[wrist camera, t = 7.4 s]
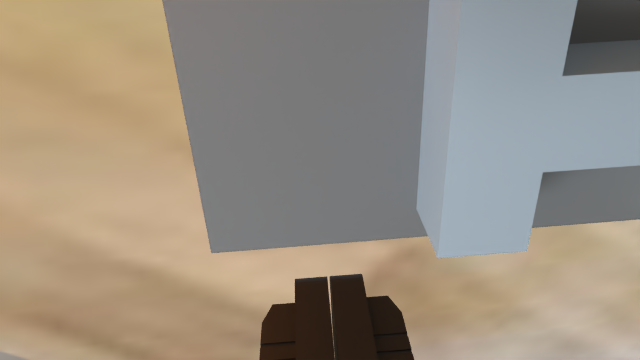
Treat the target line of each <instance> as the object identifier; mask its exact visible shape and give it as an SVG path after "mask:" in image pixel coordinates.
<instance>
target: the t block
mask: <svg viewBox="0 0 640 360" xmlns="http://www.w3.org/2000/svg"><path fill="white" fill-rule="evenodd" d="M577 1H578V0H429V13H428V30H427V46H426V62H425V78H424V94H423V111H422V127H421V143H420V159H419V175H418V192H417V208H416V209H417V212H418V214H419V216H420V219H421V221H422V223H423V225H424V228H425V230H426V232H427V235H428V237H429V239H430V242H431V244H432V246H433V249H434V251H435V253H436V255H437V258H449V257H462V256H475V255H488V254H500V253H513V252H526V251H527V249H528V244H529V239H530V234H531V229H532V224H533V219H534V214H535V209H536V204H537V199H538V194H539V189H540V184H541V179H542V174H543V172H555V171H568V170H582V169H596V168H610V167H624V166H638V165H640V40H628V41H611V42H595V43H579V44H569V40H570V35H571V31H572V26H573V21H574V16H575V11H576V6H577Z"/></svg>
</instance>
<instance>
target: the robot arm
mask: <svg viewBox="0 0 640 360" xmlns="http://www.w3.org/2000/svg"><path fill="white" fill-rule="evenodd" d="M330 292H331V309H332V324H331V313H330V303H329V292H328V281H327V277H316V278H303V279H295V303H287V304H274V305H272V307H271V308H270V310H269V312H268V314H267V315H266V317H265V319H264V320H263V322H262V330H261V348H260V360H414V357H413V354H412V352H411V346H410V342H409V338H408V336H407V331H406V327H405V323H404V319H403V316H402V312H401V311H400V310H399V309H398V307H397V306H396V305H395V304H394V303H393V301H392V300H391V299H390V298H389V297H388V296H378V297H366V292H365V287H364V281H363V277H362V274H354V275H341V276H330ZM332 326H333V335H332ZM333 340H334V345H333ZM334 352H335V356H334Z"/></svg>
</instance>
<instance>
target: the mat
mask: <svg viewBox="0 0 640 360" xmlns="http://www.w3.org/2000/svg"><path fill="white" fill-rule="evenodd" d="M162 1H163V6H164V11H165V16H166V21H167V26H168V31H169V37H170V42H171V47H172V52H173V57H174V62H175V68H176V73H177V78H178V83H179V88H180V93H181V99H182V104H183V109H184V114H185V119H186V124H187V130H188V135H189V140H190V145H191V150H192V155H193V161H194V166H195V171H196V176H197V181H198V186H199V192H200V197H201V202H202V207H203V212H204V217H205V222H206V228H207V233H208V238H209V243H210V248H211V253H220V252H232V251H245V250H258V249H270V248H283V247H296V246H308V245H321V244H333V243H346V242H359V241H371V240H384V239H397V238H409V237H422V236H428V235H427V232H426V230H425V228H424V225H423V223H422V221H421V219H420V216H419V214H418V212H417V209H416V208H417V192H418V175H419V159H420V143H421V127H422V111H423V94H424V78H425V62H426V46H427V30H428V13H429V0H162ZM628 40H640V0H578V1H577V6H576V11H575V16H574V21H573V26H572V31H571V35H570V40H569V44H579V43H595V42H611V41H628ZM636 219H640V165H638V166H624V167H610V168H596V169H582V170H568V171H555V172H543V174H542V179H541V184H540V189H539V194H538V199H537V204H536V209H535V214H534V219H533V224H532V228H535V227H548V226H561V225H573V224H586V223H599V222H611V221H624V220H636Z"/></svg>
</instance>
